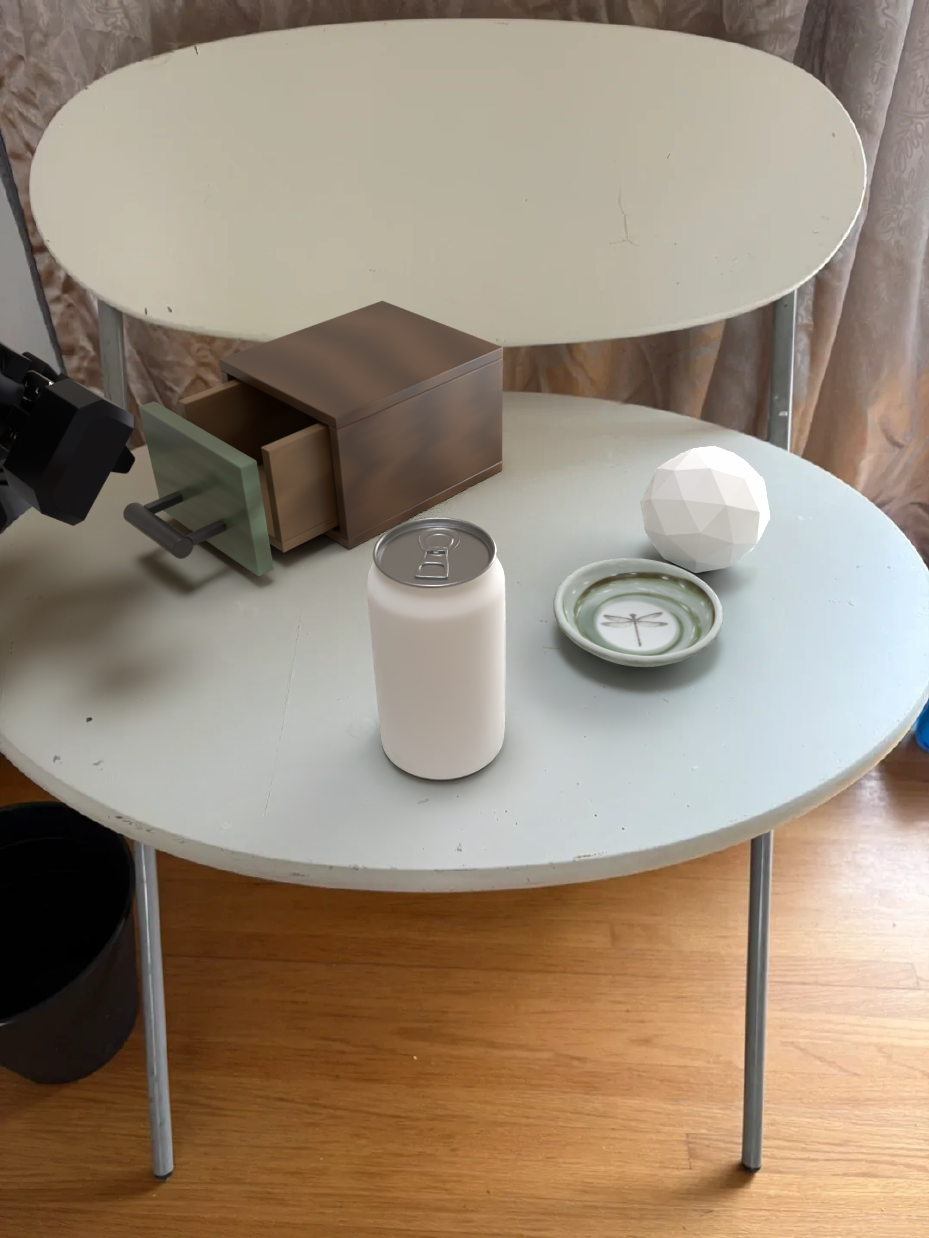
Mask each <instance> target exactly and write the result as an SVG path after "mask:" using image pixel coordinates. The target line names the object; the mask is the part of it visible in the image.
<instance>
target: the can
mask: <svg viewBox="0 0 929 1238" xmlns="http://www.w3.org/2000/svg"><path fill="white" fill-rule="evenodd" d="M372 550H373V551H372V559H373V561H372V563H371V565H370V568H369V571H368V574H367V578H366V594H367V595H366V597H367V607H368V619H369V630H370V640H371V651H372V661H373V673H374V682H375V692H376V693H375V695H376V703H377V713H378V721H379V723H378V724H379V731H380V733H379V734H380V739H381V745H382V748H383V751H384V753H385V755H386V756H387V758H388V759H389V760H390V761H391V762H392V763H393V764H394V765H395V766H397V768H399V769H401V770H403V771H404V772H406V773H408V774H410V775H412V776H414V777H417V778H419V779H424V780H430V781H452V780H458V779H462V778H465V777H468V776H471V775H473V774H475V773H476V772H479V771H480V770H482V769H483V768H485V767H486V766H487V765H489V764H490V763H491V762H492V761H493V760H494V759H495V758H496V757H497V756H498V754H499V753H500V751H501V749H502V747H503V744H504V740H505V731H506V730H505V726H506V725H505V724H506V576H505V571H504V568H503V566H502V563H501V561H500V560H499V559H498V556H497V545H496V543H495V540H494V538H493V537H492V536H491V534H490V533H489V532H487V531H486V530H485V529H483V528H482V527H480V526H479V525H477V524H474V523H472V522H470V521H467V520H463V519H460V518H452V517H445V516H443V517H442V516H434V517H433V516H431V517H423V518H422V517H421V518H416V519H412V520H408V521H404V522H401V523H399V524H397V525H396V526H394V527H392V528H390V529H388V530H386V531H385V532H383V534H382V535H381V536H379V538H378V540H377V541H376V542H375V543H374V547H373V549H372Z"/></svg>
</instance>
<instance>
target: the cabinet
mask: <svg viewBox="0 0 929 1238" xmlns="http://www.w3.org/2000/svg"><path fill="white" fill-rule="evenodd" d="M218 363H219V369H220V375H221V381H222V384H224V383H226V382H229V381H232V380H234V379H239V380H241V381H243V382H245V383H247V384H249V385H251V386H253V387H255V388H257V389H259V390H261V391H263V392H265V393H267V394H269V395H270V396H272V397H274V398H276V399H278V400H280V401H282V402H284V403H286V404H288V405H290V406H292V407H294V408H296V409H298V410H300V411H302V412H304V413H305V414H307V415H309V416H311V417H313V418H315V419H317V420H319V421H321V422H323V423H325V424H327V425H329V430H330V439H331V448H332V457H333V467H334V476H335V485H336V494H337V504H338V513H339V522H340V525H338V526H336V527H334V528H332V529H330V530H328V531H326V532H324V533H322V535H325V536H326V537H328V538H329V539H331V540H333V541H335V542H337V544H339V545H341V546H343V547H344V548H346V549H348V550H352V549H353V548H355V547H357V546H359V545H361V544H362V543H365V542H366V541H367V542H368V541H369V540H371V539H372V538H374V537H377V536H379V535H380V534H382V533H385V532H387V531H388V530H390V529H391V528H393V527H395V526H397V525H400V524H402V523H404V522H406V521H407V520H410V519H411V518H413V517H414V516H417V515H419V514H420V513H422V512H424V511H426V510H428V509H430V508H433V507H434V506H436V505H439V504H440V503H442V502H444V501H447V500H448V499H450V498H452V497H453V496H455V495H457V494H459V493H462V492H463V491H465V490H467V489H469V488H471V487H473V486H475V485H477V484H479V483H480V482H482V481H485V480H486V479H488V478H490V477H492V476H494V475H496V474H498V473H500V472H501V471H503V412H504V411H503V408H504V407H503V406H504V405H503V401H504V400H503V399H504V398H503V396H504V395H503V391H504V389H503V387H504V385H503V382H504V381H503V380H504V379H503V378H504V373H503V371H504V348H503V346H501V345H499V344H496V343H493V342H490V341H488V340H485V339H483V338H481V337H478V336H475V335H473V334H470V333H467V332H465V331H462V330H459V329H457V328H454V327H451V326H449V325H446V324H444V323H442V322H439V321H436V320H434V319H431V318H428V317H426V316H424V315H421V314H418V313H415V312H413V311H411V310H408V309H405V308H404V307H401V306H397V305H396V304H393V303H389V302H387V301H384V300H380V301H377V302H374V303H371V304H369V305H366V306H364V307H361V308H358V309H355V310H351V311H349V312H346V313H344V314H341V315H338V316H336V317H333V318H330V319H327V320H323V321H321V322H319V323H316V324H313V325H311V326H307V327H304V328H302V329H299V330H296V331H293V332H291V333H287V334H284V335H283V336H279V337H277V338H275V339H272V340H268V341H266V342H263V343H260V344H257V345H255V346H252V347H249V348H246V349H243V350H241V351H238V352H235V353H232V354H229V355H226V356H224V357H221V358H219V359H218Z"/></svg>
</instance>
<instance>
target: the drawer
mask: <svg viewBox="0 0 929 1238" xmlns="http://www.w3.org/2000/svg"><path fill="white" fill-rule="evenodd" d="M178 404H179V405H178V406H179V409H180V414H181V415H179V414H177V413H175V412H173V411H172V410H170V409H169V408H167V407H164V406H163V405H162V404H160V403H158V402H156V401H151V402H148V403H145V404H143V405H139V406H138V411H139V416H140V420H141V425H142V429H143V434H144V438H145V442H146V447H147V451H148V455H149V459H150V464H151V469H152V473H153V477H154V481H155V486H156V490H157V494H158V499H156V500H153V501H150V502H148V503H146V504H143V505H142V504H141V503H139V502H137V501H136V502H135V501H134V502H130V503H128V504H127V505H126V506H125V508H124V509H123V513H122V515H123V516H122V517H123V519H124V520H125V522H126V523H128V524H130V525H131V526H132V527H133V528H135V529H136V530H138V532H141V533H142V534H143V535H145V536H146V537H148V538H149V539H150V540H151V541H153V542H155V544H157V545H158V546H160V547H161V548H162V549H163V550H165V551H166V552H168V553H169V554H171V555H172V556H174V557H175V558H176V559H180V560H183V559H186V558H187V557H189V556H190V555H191V554H192V552H193V550H194V547H195V546H196V545H199V544H200V543H203V542H205V541H206V542H208V543H209V544H210V545H212V546H213V547H215V548H216V549H217V550H219V551H220V552H221V553H224V554H225V556H228V557H229V558H231V559H232V560H233V561H235V562H236V563H238V564H239V565H241V566H242V567H244V568H245V569H247V570H248V571H250V572H251V573H252V574H254V575H255V576H257V577H258V578H259V577H261V576H264V575H265V574H267V573H270V572H272V571H273V570H274V564H273V563H274V562H273V556H272V549H271V545H272V546H273V547H275V549H277V550H279V551H281V552H282V553H286V552H288V551H290V550H292V549H294V548H296V547H298V546H300V545H302V544H304V543H306V542H308V541H310V540H312V539H314V538H316V537H318V536H320V535H323V533H324V532H326V531H328V530H330V529H332V528H334V527H336V526H338V525H340V522H339V513H338V504H337V494H336V485H335V476H334V467H333V457H332V448H331V439H330V430H329V425H327V424H325V423H323V422H321V421H319V420H317V419H315V418H313V417H311V416H309V415H307V414H305V413H304V412H302V411H300V410H298V409H296V408H294V407H292V406H290V405H288V404H286V403H284V402H282V401H280V400H278V399H276V398H274V397H272V396H270V395H269V394H267V393H265V392H263V391H261V390H259V389H257V388H255V387H253V386H251V385H249V384H247V383H245V382H243V381H241V380H239V379H234V380H232V381H229V382H226V383H224V384H223V383H221V384H218V385H215V386H214V387H211V388H208V389H205V390H203V391H200V392H197V393H195V394H192V395H189V396H187V397H184V398H181V399H179V400H178ZM162 511H163V512H164V513H166V514H167V515H168V516H170V517H172V519H174V520H176V521H177V522H179V523H180V524H181V525H183V526H184V527H186V528H187V529H188V530H190V531H192V532H189V533H188V534H186V535H185V534H183V533H182V532H181V531H179V530H178V529H177V528H176V527H173V525H171V524H170V523H168V522H167V521H165V520H164V519H162V518H161V517H160V516H158V515H157V514H158V513H161V512H162Z"/></svg>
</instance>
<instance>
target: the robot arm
mask: <svg viewBox="0 0 929 1238" xmlns="http://www.w3.org/2000/svg"><path fill="white" fill-rule="evenodd" d="M134 430H135V416H134V414H133V413H132V412H130V411H128V410H127V409H125V408H123V406H122V407H121V406H120V405H119V404H117V403H115V402H114V401H112V400H110V399H109V398H107V397H105V396H103V395H101V394H100V393H99V392H97V391H94V390H93V389H91V388H89V387H87V386H86V385H83V384H82V383H80V382H79V381H77V380H75V379H74V378H72V377H70V376H69V375H67V374H66V373H64V372H62V371H61V372H59V373H58V372H57V371H56V370H55V369H54V368H53V367H52V366H51V365H50V364H49V363H47V362H45V361H44V360H43V359H41V358H40V357H38V356H36V355H34V354H33V353H31V352H30V351H24V352H22V353H20V352H18V351H17V350H15V349H14V348H12V347H10V346H8V345H7V344H6V343H3V342H2V341H0V462H1V461H4V462H3V463H2V469H3V472H4V476H5V478H6V482H7V484H8V488H9V489H10V490H11V491H12V492H13V493H14V494H16V495H17V496H18V497H20V498H21V499H22V500H24V501H25V502H26V503H27V504H28V505H30V506H31V507H32V508H34V509H35V510H36V511H37V512H38V513H40V514H42V515H43V516H46V517H49V518H51V519H53V520H56V521H59V522H61V523H64V524H67V525H69V526H72V527H75V526H77V525H78V524H80V523H82V522H84V521H85V520H86V519H87V516H88V515H89V513H90V511H91V509H92V507H93V506H94V504H95V502H96V500H97V498H98V497H99V495H100V493H101V491H102V489H103V487H104V485H105V483H106V481H107V480H108V478H109V476H110V474H111V473H113V474H115V473H116V474H123V475H126V474H128V473H130V471H131V470H132V467H133V466H134V464H135V462H136V457H135V455H134V454H133V452H132V451H131V450H130V449H129V447H128V446H127V443H128V441H129V439H130V438H131V435H132V434H133V432H134Z"/></svg>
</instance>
